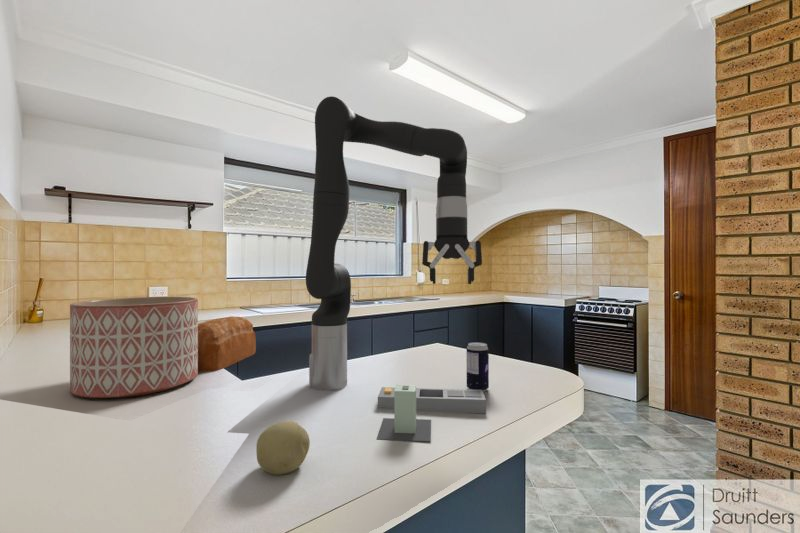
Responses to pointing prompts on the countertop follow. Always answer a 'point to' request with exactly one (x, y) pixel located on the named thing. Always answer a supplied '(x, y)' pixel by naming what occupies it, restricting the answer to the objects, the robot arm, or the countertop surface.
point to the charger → (405, 408)
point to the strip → (439, 400)
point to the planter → (132, 345)
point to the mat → (419, 436)
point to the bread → (224, 342)
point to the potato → (282, 447)
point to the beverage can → (477, 366)
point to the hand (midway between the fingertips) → (451, 283)
